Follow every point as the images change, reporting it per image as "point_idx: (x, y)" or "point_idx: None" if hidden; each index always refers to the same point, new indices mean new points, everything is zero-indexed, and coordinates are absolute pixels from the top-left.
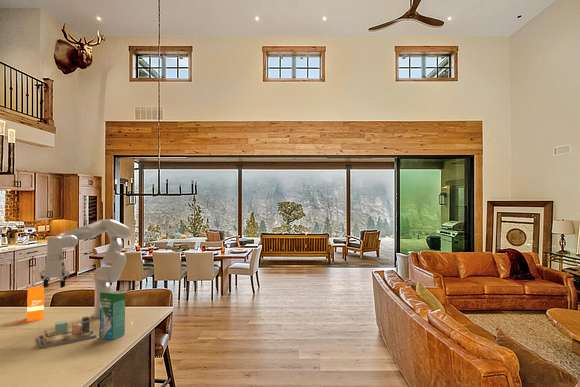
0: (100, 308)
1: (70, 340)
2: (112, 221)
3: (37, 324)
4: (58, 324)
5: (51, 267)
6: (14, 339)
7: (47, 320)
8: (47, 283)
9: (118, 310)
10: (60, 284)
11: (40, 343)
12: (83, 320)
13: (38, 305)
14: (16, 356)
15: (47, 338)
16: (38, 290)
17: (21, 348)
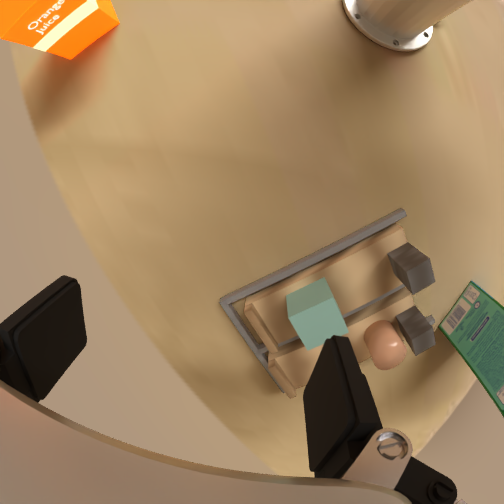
0: (489, 394)
1: None
2: None
3: (124, 96)
4: (314, 347)
5: None
6: (140, 289)
7: (144, 41)
8: (53, 326)
9: None
10: (308, 428)
11: (271, 374)
12: (409, 289)
13: (66, 15)
14: (241, 417)
15: (286, 364)
16: None
17: (220, 376)
